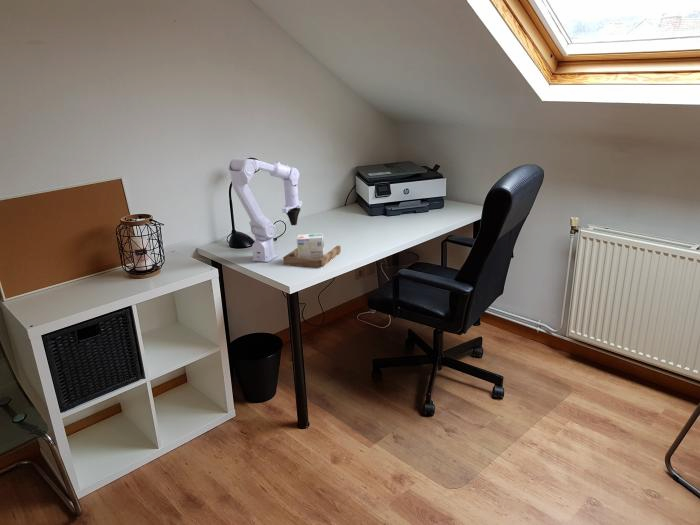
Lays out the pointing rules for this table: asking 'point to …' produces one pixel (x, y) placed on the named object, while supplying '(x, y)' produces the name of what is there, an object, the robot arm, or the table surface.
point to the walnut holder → (295, 260)
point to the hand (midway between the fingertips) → (293, 224)
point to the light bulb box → (310, 246)
